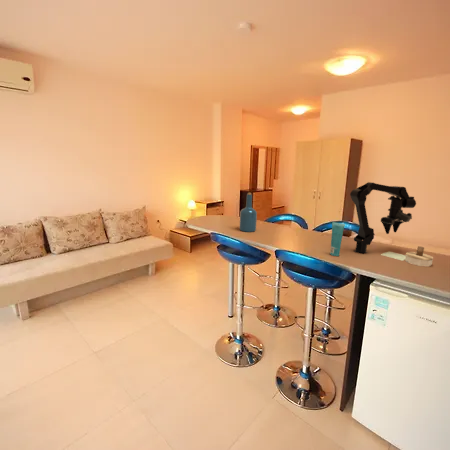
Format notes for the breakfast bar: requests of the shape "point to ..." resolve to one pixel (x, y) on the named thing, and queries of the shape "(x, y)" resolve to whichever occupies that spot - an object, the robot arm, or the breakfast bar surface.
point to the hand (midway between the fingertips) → (391, 233)
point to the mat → (394, 255)
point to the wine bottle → (248, 216)
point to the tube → (336, 238)
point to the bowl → (418, 261)
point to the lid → (419, 254)
